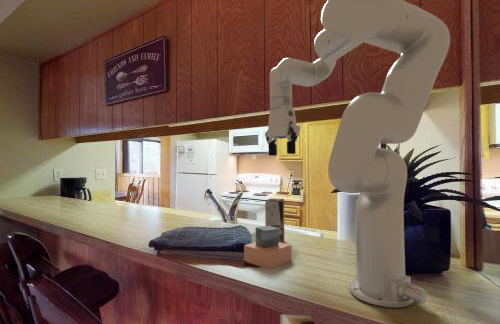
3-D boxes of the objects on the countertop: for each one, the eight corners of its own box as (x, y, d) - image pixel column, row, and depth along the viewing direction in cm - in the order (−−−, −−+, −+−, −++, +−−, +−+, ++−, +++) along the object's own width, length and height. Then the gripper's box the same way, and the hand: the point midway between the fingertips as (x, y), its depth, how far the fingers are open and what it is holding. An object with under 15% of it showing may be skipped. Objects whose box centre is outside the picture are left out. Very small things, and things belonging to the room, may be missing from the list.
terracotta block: (291, 261, 80) (291, 244, 80) (270, 270, 73) (269, 252, 73) (266, 254, 87) (265, 239, 87) (244, 262, 80) (244, 245, 80)
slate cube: (278, 245, 79) (278, 228, 79) (264, 248, 77) (263, 230, 77) (269, 241, 83) (269, 225, 84) (255, 243, 81) (255, 227, 81)
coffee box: (283, 246, 94) (282, 201, 95) (265, 246, 95) (264, 200, 96) (284, 240, 103) (284, 198, 104) (268, 239, 104) (267, 198, 105)
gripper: (307, 100, 86) (308, 153, 85) (273, 110, 100) (274, 156, 100) (289, 97, 82) (290, 152, 81) (257, 108, 96) (257, 155, 96)
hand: (281, 154), depth 91 cm, fingers open, 9 cm apart
